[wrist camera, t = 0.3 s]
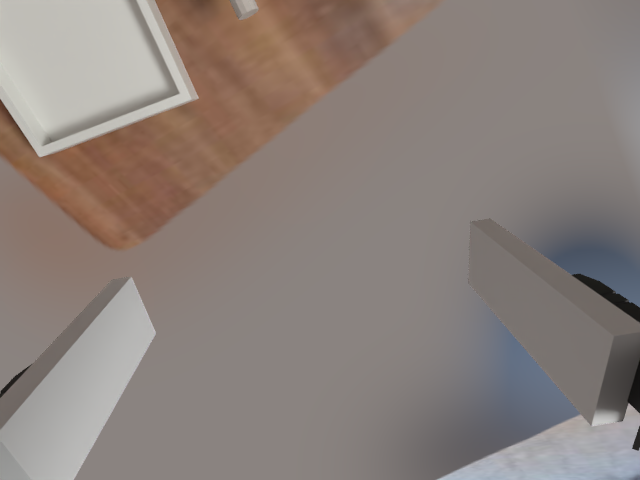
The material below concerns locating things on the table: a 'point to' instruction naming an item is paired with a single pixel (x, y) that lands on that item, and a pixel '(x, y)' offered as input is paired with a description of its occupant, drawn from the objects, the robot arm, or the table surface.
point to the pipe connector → (244, 8)
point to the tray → (86, 68)
